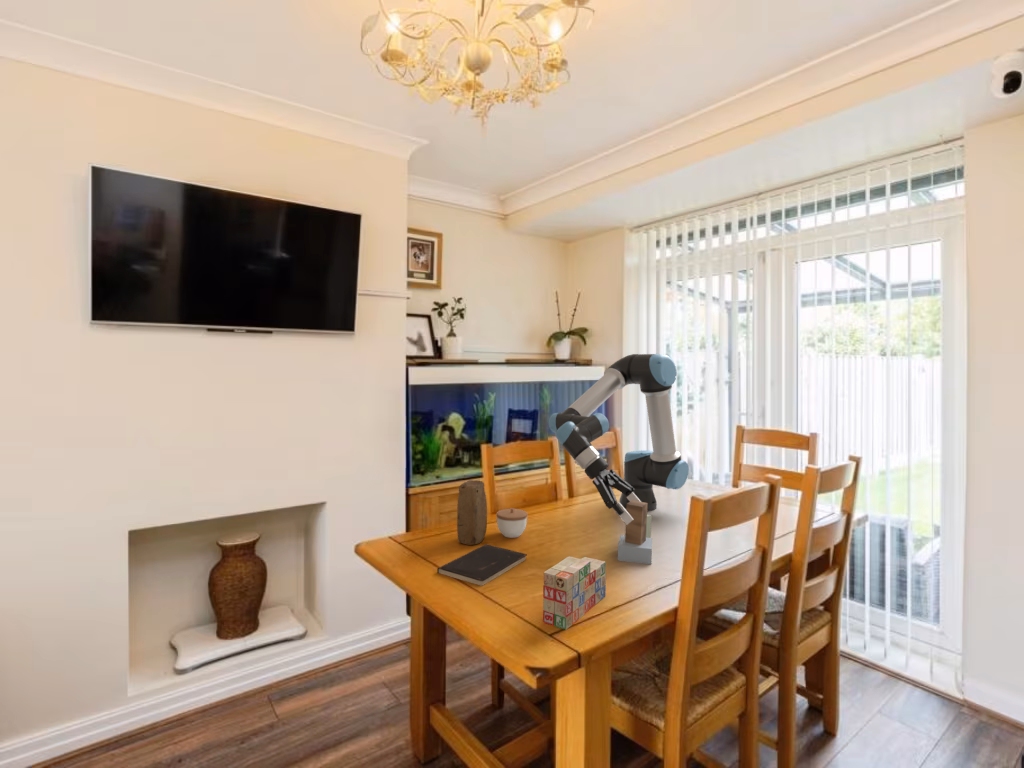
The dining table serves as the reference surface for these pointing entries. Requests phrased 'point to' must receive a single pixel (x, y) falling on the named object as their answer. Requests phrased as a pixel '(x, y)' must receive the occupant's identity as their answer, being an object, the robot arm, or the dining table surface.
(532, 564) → the dining table surface
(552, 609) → the stack of blocks
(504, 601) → the dining table surface
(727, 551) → the dining table surface
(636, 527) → the walnut block
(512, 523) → the lidded jar
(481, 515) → the block
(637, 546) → the slate base block
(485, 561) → the hardcover book
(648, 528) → the sage block
